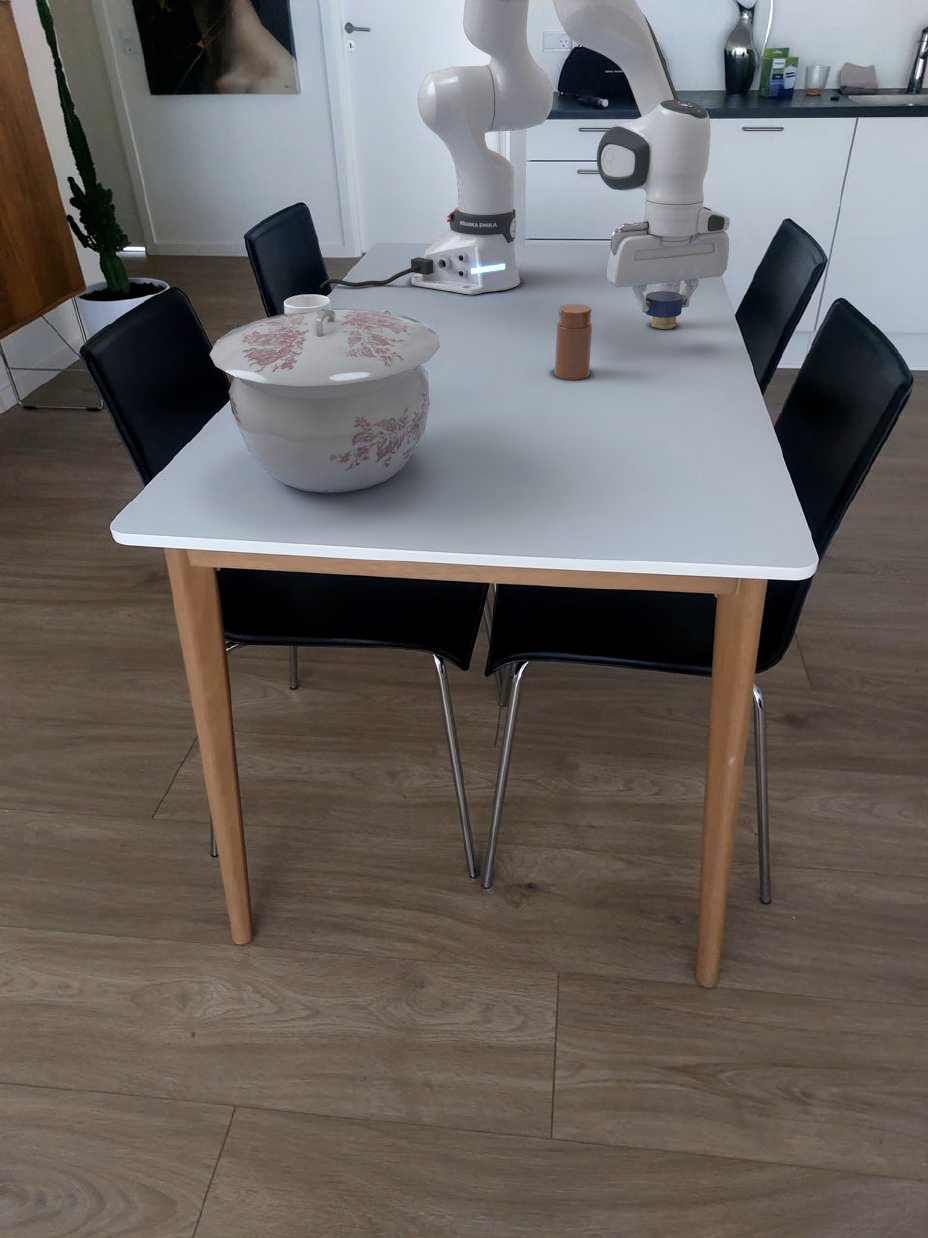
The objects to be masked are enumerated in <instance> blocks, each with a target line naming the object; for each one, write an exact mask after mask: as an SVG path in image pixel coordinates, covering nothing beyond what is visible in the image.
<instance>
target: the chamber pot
mask: <svg viewBox="0 0 928 1238" xmlns="http://www.w3.org/2000/svg"><path fill="white" fill-rule="evenodd" d="M331 308H332V307H331ZM331 308H323V309H316V310H308V311H300V312H291V313H286V314H284V313H282V314H278V315H273V316H268V317H264V318H262V319H257V320H253V321H251V322H249V323H246V324H244V325H241V326H239V327H236V328H233V329H231V330H229V331H228V332H227V333H225V334H224V335H222V336H221V337H220V338H218V339H217V340H216V341H215V343H214V345H213V347H212V348H211V351H210V353H209V357H210V358H211V360H212V362H213V364H214V366H215V367H216V368H218V369H219V370H221V371H222V372H224V373H227V374H229V375H231V376H232V377H233V379H232V382H231V385H230V387H229V390H228V396H229V402H230V408H231V413H232V416H233V418H234V421H235V423H236V426H237V429H238V432H239V434H240V436H241V439H242V441H243V443H244V446H245V447H246V449H247V451H248V452H249V453H250V454H251V455H252V456H253V458H254V459H255V460H256V461H257V462H258V463H259V464H260V465H261V466H262V468H263V469H264V470H265V471H266V472H267V474H269V475H270V476H272V477H274V479H276V480H277V481H279V482H280V483H282V484H283V485H285V486H286V487H290V488H294V489H297V490H300V491H305V492H315V493H325V494H327V493H347V492H352V491H357V490H363V489H367V488H370V487H373V486H376V485H379V484H381V483H384V482H386V481H388V480H389V479H390V478H392V477H394V476H396V475H397V474H398V473H399V472H400V471H401V470H402V469H403V468H404V466H405V465H406V464H407V462H408V460H409V459H410V458H411V456H412V454H413V453H414V451H415V449H416V448H417V446H418V444H419V442H420V441H421V439H422V438H423V436H424V434H425V432H426V426H427V421H428V416H429V411H430V405H431V404H430V381H429V373H428V371H427V370H426V368H425V367H424V364H425V363H427V362H429V361H430V360H432V357H434V355H435V354H436V353H437V352H438V350H439V349H440V348H441V344H440V337H439V334H438V333H437V332H435V331H434V330H433V329H432V328H431V327H429V326H428V325H427V324H426V323H425V322H421V321H419V320H416V319H413V318H412V317H408V316H405V315H402V314H401V315H400V314H395V313H391V312H390V311H389V310H387V309H382V308H381V309H380V310H373V309H359V308H358V309H357V308H332V309H331Z"/></svg>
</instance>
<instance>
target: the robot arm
mask: <svg viewBox="0 0 928 1238" xmlns="http://www.w3.org/2000/svg"><path fill="white" fill-rule="evenodd" d="M552 2H553V6H554V9H555V14H556V16H557V19H558V21H559V23H560V25H561V27H562V28H563V30H564V32H565V34H566V35H567V37H568V38H570V39H571V40H572V41H573V42H575V43H576V44H578V45H579V46H582V47H584V48H585V49H588V50H591V51H594V52H597V53H598V54H601V55H603V56H604V57H606V58H607V59H609V60H611V61H612V62H613V63H615V64H616V65H617V66H618V67H619V68H620V70H621V71H622V72H623V73H624V75H625V76H626V79H627V81H628V83H629V87H630V89H631V91H632V94H633V97H634V100H635V103H636V105H637V108H638V111H639V113H640V115H641V116H640V117H637V118H636V119H633V120H630V121H627V122H623V123H620V124H617V125H615V126H611V127H610V128H609V129H607V130H606V131H605V132H604V134H603V135H602V137H601V139H600V141H599V143H598V146H597V151H596V166H597V171H598V174H599V176H600V179H601V180H602V181H603V183H604V184H605V185H606V186H607V187H608V188H609V189H611V190H614V191H621V192H629V191H634V190H640V189H642V190H644V192H645V201H644V214H643V221H640V222H634V223H622V224H620V225H619V227H617V228H616V229H615V230H614V231H613V232H612V234H611V236H610V245H609V246H610V251H609V257H608V262H607V268H606V279H607V281H608V282H609V284H611V285H612V286H614V287H616V288H618V289H621V288H622V289H623V288H631V290H632V292H633V295H634V296H635V298H636V300H637V301H636V303H637V304H636V311H637V312H639V313H643V314H644V313H645V312H649V311H650V304H651V301H649V300H647V299H646V296H645V295H644V292H647V285H655V284H658V283H667V282H675V281H681V282H683V283H684V284H685V285H684V287H683V290H682V292H681V293H680V294H681V295H682V296H683V302H682V309H683V308H688V307H690V302H691V297H692V296H693V294H694V293H695V291H696V289H697V287H698V286H699V280H701V279H711V278H719V277H722V276H723V275H724V273H725V272H726V271H727V270H728V269H727V268H728V263H729V254H730V237H729V234H728V233H727V231H728V230H729V228H730V225H731V219H730V217H729V216H727V215H725V214H723V213H721V212H718V211H715V210H713V209H712V208H709V207H706V206H704V202H705V201H704V199H705V193H704V180H705V176H706V174H707V172H708V167H709V158H710V149H711V121H710V120H711V119H710V116H709V113H708V111H707V109H706V108H705V107H704V106H702V105H701V104H698V103H696V102H693V101H689V100H682V99H679V97H678V94H677V92H676V91H677V90H676V88H675V85H674V83H673V80H672V77H671V75H670V72H669V69H668V66H667V64H666V62H665V58H664V56H663V53H662V51H661V46H660V45H659V42H658V39H657V37H656V34H655V32H654V29H653V28H652V25H651V24H650V22H649V20H648V18H647V17H646V16H645V14H644V12H643V11H642V10H641V8H640V6H639V4H638V1H636V0H552ZM529 4H530V0H464V4H463V5H464V6H463V19H462V26H463V31H464V34H465V37H466V38H467V40H468V41H469V42H470V43H471V44H472V45H473V46H474V47H475V48H476V49H478V50H480V51H481V52H482V53H484V54H487V55H488V56H490V61H489V63H488V64H485V65H464V66H463V65H462V66H461V65H460V66H449V67H445V68H441V69H438V70H434V71H431V72H429V73H427V74H426V75H425V76H424V78H423V79H422V81H421V84H420V85H419V89H418V94H417V106H418V107H417V108H418V112H419V115H420V117H421V119H422V121H423V123H424V124H425V126H426V127H427V128H428V129H429V130H430V131H432V132H433V133H434V134H435V135H437V137H439V139H440V140H441V141H442V142H443V144H444V145H445V146H446V148H447V150H448V152H449V153H450V156H451V158H452V161H453V163H454V168H455V176H456V184H457V185H456V186H457V187H456V188H457V207H455V208H454V209H453V211H451V212H450V213H449V215H447V216H446V218H447V219H446V222H447V223H449V229H448V230H447V231H445V232H444V233H443V234H442V235H441V236H440V237H438V238H437V239H436V240H435V241H433V243H431V244H430V245H429V246H428V247H427V248H426V250H425V251H424V254H423V257H419V256H417V257H413V258H411V259H410V267H409V268H407V269H405V270H401V271H399V272H397V273H395V274H393V275H392V276H390V277H389V278H387V279H383V280H366V281H365V280H364V281H358V282H352V281H347V280H343V279H339V278H329V279H327V280H325V281H324V282H323V283H321V284H320V286H319V288H320V289H321V288H322V289H323V288H326V287H327V286H329V285H331V284H338V285H342V286H345V287H350V288H360V287H367V286H385V285H389V284H391V283H393V282H394V281H396V280H398V279H399V278H401V277H403V276H406V275H409V274H413V275H412V276H411V285H412V286H416V287H422V288H428V289H434V290H440V291H445V292H452V293H458V294H465V295H479V294H482V293H489V292H490V293H491V292H498V291H505V290H510V289H513V288H515V287H518V286H519V285H520V284H521V279H520V275H519V271H518V270H519V269H518V265H517V260H516V259H517V257H516V250H515V240H516V235H517V215H516V213H517V211H516V209H515V207H514V205H515V203H514V202H515V201H514V200H515V171H514V167H513V165H512V164H511V162H510V160H509V159H508V158H506V157H505V156H504V155H501V154H499V153H498V152H496V151H495V150H492V149H490V148H489V147H488V144H487V142H486V134H488V133H494V132H495V133H497V132H511V131H512V132H513V131H523V130H526V129H530V128H532V127H533V128H534V127H536V126H540V125H542V124H544V123H545V121H546V120H547V118H548V117H549V115H550V113H551V110H552V108H553V104H554V88H553V84H552V82H551V79H550V77H549V75H548V74H547V72H546V71H545V70H544V69H543V68H542V67H541V66H540V65H539V64H538V63H537V62H536V61H535V59H534V58H533V56H532V54H531V51H530V47H529V44H528V37H527V36H528V35H527V32H528V31H527V30H528V29H527V28H528V14H529Z"/></svg>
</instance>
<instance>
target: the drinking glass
mask: <svg viewBox="0 0 928 1238" xmlns="http://www.w3.org/2000/svg"><path fill="white" fill-rule="evenodd" d="M331 302H332V301H331V299H330V297H327V296H326V295H321V294H299V295H294V296H291V297H288V298H286V299H285V300H284V301H283V312H284V313H283V314H286V313H291V312H300V311H308V310H316V309H323V308H331V309H333V308H332V303H331Z"/></svg>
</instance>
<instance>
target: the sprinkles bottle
mask: <svg viewBox="0 0 928 1238" xmlns="http://www.w3.org/2000/svg"><path fill="white" fill-rule="evenodd" d="M681 284H682V281H675V282H667V283H658V284H654V291H653V292H655V291H669V292H675V293H679V294H681V293H680V291H681ZM650 326H651V327H653V328H655V329H660V330H669V329H670V330H671V329H674V328H675V327H676V326H677V316H676V317H670V318H659V317H653V316H651V321H650Z"/></svg>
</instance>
